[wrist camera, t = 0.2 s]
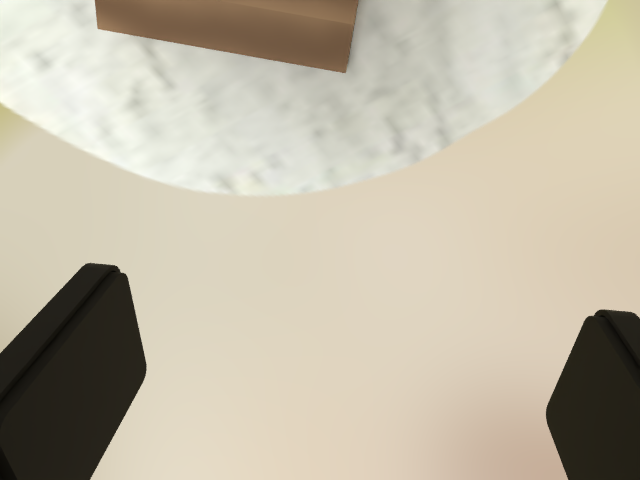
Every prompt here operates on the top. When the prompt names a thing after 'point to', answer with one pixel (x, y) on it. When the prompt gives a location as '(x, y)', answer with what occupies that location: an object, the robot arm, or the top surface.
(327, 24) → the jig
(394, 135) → the top surface
